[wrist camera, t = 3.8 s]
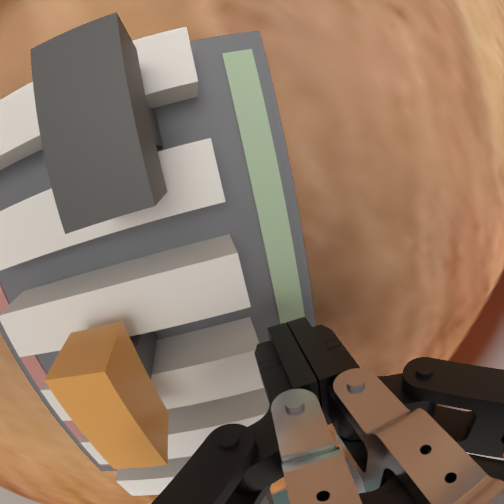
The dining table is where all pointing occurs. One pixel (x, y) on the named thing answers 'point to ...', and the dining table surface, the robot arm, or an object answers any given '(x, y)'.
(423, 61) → the dining table surface
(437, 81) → the dining table surface
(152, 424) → the handle
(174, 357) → the breaker panel
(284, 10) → the dining table surface
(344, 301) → the dining table surface
